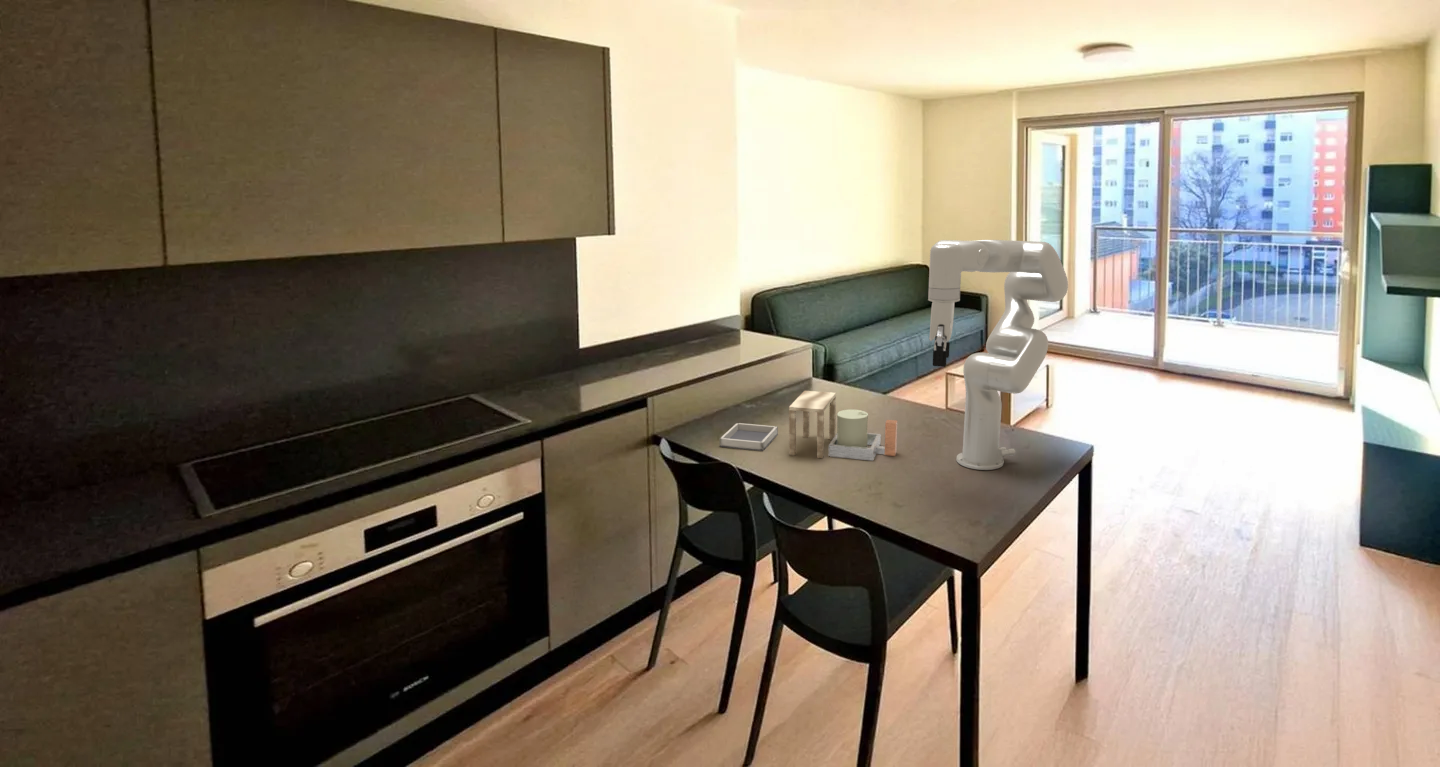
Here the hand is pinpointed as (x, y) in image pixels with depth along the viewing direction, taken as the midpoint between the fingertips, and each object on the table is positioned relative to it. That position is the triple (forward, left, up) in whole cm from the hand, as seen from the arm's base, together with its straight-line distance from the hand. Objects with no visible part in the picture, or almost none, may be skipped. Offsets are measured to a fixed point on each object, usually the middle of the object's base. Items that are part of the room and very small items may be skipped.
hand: (940, 361), depth 188 cm
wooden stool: (+25, -34, -33) cm, 54 cm away
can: (+14, -28, -34) cm, 46 cm away
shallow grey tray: (+11, -27, -33) cm, 44 cm away
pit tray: (+43, -43, -33) cm, 70 cm away
